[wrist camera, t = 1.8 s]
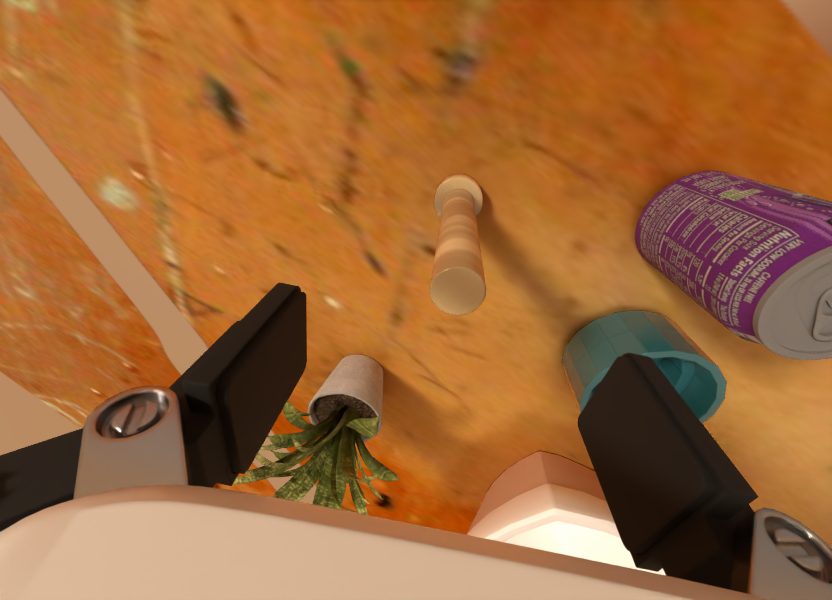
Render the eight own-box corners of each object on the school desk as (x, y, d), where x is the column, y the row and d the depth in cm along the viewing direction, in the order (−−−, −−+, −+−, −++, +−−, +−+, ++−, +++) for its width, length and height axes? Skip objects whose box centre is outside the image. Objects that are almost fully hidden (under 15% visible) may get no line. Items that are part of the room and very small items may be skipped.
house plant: (337, 281, 30) (236, 433, 17) (454, 357, 34) (451, 538, 20) (278, 368, 37) (171, 527, 23) (380, 424, 40) (339, 595, 26)
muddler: (440, 169, 24) (420, 240, 12) (487, 179, 24) (517, 260, 12) (430, 216, 26) (406, 319, 14) (475, 225, 26) (489, 336, 14)
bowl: (525, 396, 35) (547, 498, 26) (698, 478, 39) (770, 592, 30) (422, 493, 47) (413, 586, 38) (562, 549, 51) (584, 645, 42)
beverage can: (742, 242, 25) (942, 342, 15) (638, 276, 27) (747, 383, 17) (739, 149, 22) (987, 193, 12) (622, 196, 24) (743, 268, 14)
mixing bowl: (588, 296, 28) (616, 338, 23) (706, 319, 28) (760, 368, 23) (544, 379, 34) (559, 429, 29) (643, 399, 34) (676, 453, 29)
